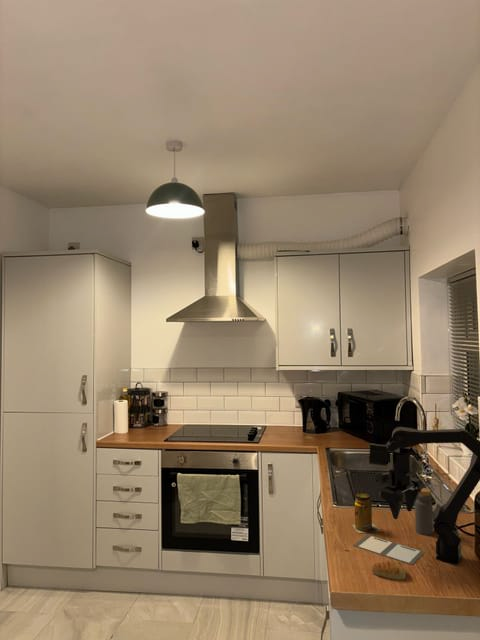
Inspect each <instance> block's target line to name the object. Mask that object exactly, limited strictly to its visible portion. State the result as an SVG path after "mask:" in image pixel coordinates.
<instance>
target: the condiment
mask: <svg viewBox="0 0 480 640" xmlns="http://www.w3.org/2000/svg"><path fill="white" fill-rule="evenodd" d="M372 508H373V505H372V501H371V496H370V494H367V493H356V494H355V502H354V524H351V526H352V528H353V529H355V531H356V532H357V533H359V534H361V533H362V534H364V533H365V534H366V533H367V534H368V533H376V532H377V533H378V532H381V530H380V529H379V528H378V526H376V525H375V524H374V523H373V514H372V513H373V512H372V511H373V509H372Z"/></svg>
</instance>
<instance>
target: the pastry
mask: <svg viewBox="0 0 480 640" xmlns="http://www.w3.org/2000/svg"><path fill="white" fill-rule="evenodd" d="M371 572H372V573H374V574H375V575H376V576H378V577H382V578H386V579H391V580H400V581H401V580H402V581H403V580H405V579H406V577H407V575H406V571H405V567H404V562H402V561H398V560H385V561H380V562H377V563H374V564H373V565H372V569H371Z"/></svg>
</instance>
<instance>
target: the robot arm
mask: <svg viewBox="0 0 480 640" xmlns="http://www.w3.org/2000/svg"><path fill="white" fill-rule="evenodd" d="M423 444H462V445H463V446H464V447H466V448H467V449H468V450H469V451H471V453H472V455H471V458H470V462H469V466H468V468H467V470H466V471H465V473H464V474H463V476H462V477H461V479H460V481H459V482H458V484H457V486H456V487H455V488H454V490H453V492H452V493H451V495H450V497H449V498H448V500H447V501H446V503H444V504H442V505H440V504H439V503H437V504H436V506H435V508H434V509H433V512H432V513H431V514H432V524H433V532H434V533H435V534H436V535H437V536H438V537H437V540H436V541H435V554H436V556H435V559H436V560H439V561H442V562H444V563H445V562H446V563H448V564H452V565H455V566H458V565H459V564H460V563H461V562H462V560H463V559H464V556H463V555H462V539H461V536H460V533H459V530H458V527H456V524H457V522H458V521H457V520H458V516H459V514H460V512H461V510H462V508H463V507H464V505H465V504H466V502H467V501H468V500H469V498H470V496H471V494H473V492H474V490H475V489H476V487H477V485H478V484H479V482H480V440H478V439H477V438H476V437H475V436H473V435H472V434H471V433H469V431H468V430H467V429H465V428H458V429H455V428H454V429H422V430H421V429H416V428H412V427H403V426H398V427H395V428H394V429H393V431H392V433H391V438H390V439H389V440H388V441H387V442H386V444H377V443H372V442H371V443H369V453H368V462H369V463H368V464H369V465H370V466H371V465H372V466H386V467H387V466H388V465H389V464H390V463H391V455H392V468H390V469H389V470H388V471H387V472H382V471H380V472H377V473H375V475H374V482H375V483H376V484H377V485H378V486H382V485H387V484H388V486H385V487H383V488H381V489H380V490H379V498H382V500H384V501H386V503H387V504H388V506H389V509H390V512H391V514H392V517H393V519H394V520H398V518H399V515H400V512H401V508H402V505H403V502H404V499H403V497H404V495H405V503H406V504H405V505H406V511H408V512H411V511H412V510H413V507H415V502H416V500H417V499H418V496H419V494H420V492H421V489H423V488H424V482H423V480H422V479H420V478H416V477H412V475H413V474H414V473H415V472H414V470H413V469H412V456H416V455H418V452H417V450H416V449H415V448H414V447H416V446H418V445H423ZM403 493H404V494H403Z"/></svg>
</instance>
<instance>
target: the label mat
mask: <svg viewBox="0 0 480 640" xmlns="http://www.w3.org/2000/svg"><path fill="white" fill-rule="evenodd" d="M352 546H353V547H354V548H355V547H356V548H358V549H362V550H364V551H367V552H371V553H375V554H377V555H381V556H383V557H388V558H389V559H392V560H394V561H397V562H399V561H401V562H403V563H405V564H408V565H411V566H413V565H415V563H416V562H417V561H418V560H419V559H420V557H422V556H423V555H424V553H425V551H424V550H420V549H417V548H413V547H411V546H406V545H403V544H400V543H396V542H394V541H391V540H387V539H384V538H382V537H378V536H374V535H371V534H368V533H367V534H366V535H365V536H363V537H362V538H361V539H359V540H358V541H357V542H355V543H354V544H353V545H352Z"/></svg>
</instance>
